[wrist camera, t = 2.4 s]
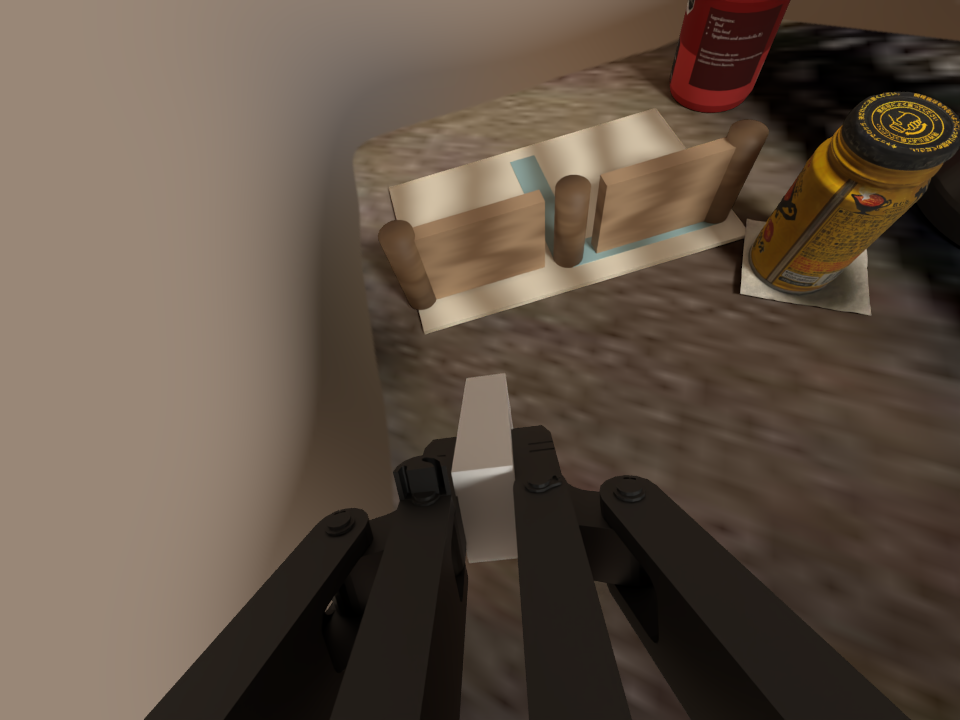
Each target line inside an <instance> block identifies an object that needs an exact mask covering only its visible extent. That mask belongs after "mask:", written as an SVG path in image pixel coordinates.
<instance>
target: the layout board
mask: <svg viewBox="0 0 960 720" xmlns="http://www.w3.org/2000/svg"><path fill="white" fill-rule="evenodd" d="M684 149H686V148H685V146H684V145H683V144H682V142H681V141H680V140H679V138H678V137H677V136H676V134H675V133H674V132H673V130H672V129H671V128H670V126H669V125H668V124H667V122H666V121H665V120H664V118H663V117H662V116H661V114H660V113H659V112H658V110H657V109H656V108H654V109H651V110H647V111H644V112H641V113H637V114H634V115H631V116H627V117H624V118H621V119H617V120H614V121H610V122H607V123H604V124H600V125H597V126H594V127H590V128H587V129H584V130H580V131H577V132H574V133H570V134H567V135H564V136H560V137H557V138H554V139H550V140H547V141H543V142H540V143H537V144H533V145H530V146H527V147H523V148H520V149H517V150H513V151H510V152H507V153H503V154H500V155H497V156H493V157H490V158H486V159H483V160H480V161H476V162H473V163H470V164H466V165H463V166H460V167H456V168H453V169H450V170H446V171H443V172H440V173H436V174H433V175H430V176H426V177H423V178H419V179H416V180H413V181H409V182H406V183H403V184H399V185H396V186H393V187H389V190H390V195H391V199H392V203H393V207H394V211H395V215H396V219H397V220H404V221H407V222H409V223H410V224H411V226H412V227H416V226H419V225H422V224H426V223H429V222H432V221H436V220H439V219H442V218H446V217H449V216H452V215H456V214H459V213H462V212H466V211H469V210H472V209H476V208H479V207H482V206H486V205H489V204H492V203H496V202H499V201H503V200H506V199H509V198H513V197H516V196H519V195H523V194H526V193H529V192H533V191H536V190H540V192H541V194H542V196H543V198H544V200H545V267H544V268H540V269H537V270H534V271H530V272H527V273H524V274H520V275H517V276H514V277H511V278H507V279H504V280H501V281H497V282H494V283H491V284H487V285H484V286H481V287H477V288H474V289H471V290H467V291H464V292H461V293H457V294H454V295H451V296H447V297H444V298H441V299H437V300H436V302H435V303H434V305H433V306H431V307H430V308H428V309H425V310H419V313H420V317H421V321H422V326H423V330H424V333H425V334H427V333H431V332H434V331H437V330H441V329H444V328H447V327H451V326H454V325H457V324H461V323H464V322H467V321H471V320H474V319H477V318H481V317H484V316H487V315H491V314H494V313H497V312H501V311H504V310H507V309H511V308H514V307H517V306H521V305H524V304H527V303H531V302H534V301H537V300H541V299H544V298H547V297H551V296H554V295H557V294H561V293H564V292H567V291H571V290H574V289H577V288H580V287H584V286H587V285H590V284H594V283H597V282H600V281H604V280H607V279H610V278H614V277H617V276H620V275H624V274H627V273H630V272H634V271H637V270H640V269H644V268H647V267H650V266H654V265H657V264H660V263H664V262H667V261H670V260H674V259H677V258H680V257H684V256H687V255H690V254H694V253H697V252H700V251H704V250H707V249H710V248H714V247H717V246H720V245H724V244H727V243H730V242H734V241H737V240H740V239H744V238H745V230H746V227H745V226H744V225H743V223H742V222H741V221H740V219H739V218H738V217H737V216H736V214H735V213H734V212H733V210H732V209H731V211H730V213H729V215H728V217H727V219H726V220H725V221H723V222H722V223H717V224H711V223H707V222H704V221H703V222H700V223H697V224H693V225H690V226H687V227H683V228H680V229H677V230H673V231H670V232H667V233H663V234H660V235H657V236H653V237H650V238H647V239H643V240H640V241H637V242H633V243H630V244H627V245H623V246H620V247H617V248H613V249H610V250H607V251H603V252H600V253H596V252H595V250H594V248H593V246H592V244H591V239H592V232H593V225H594V218H595V210H596V203H597V196H598V188H599V181H600V175H601V174H604V173H608V172H611V171H614V170H618V169H621V168H624V167H628V166H631V165H634V164H638V163H641V162H644V161H648V160H651V159H654V158H658V157H661V156H664V155H668V154H671V153H674V152H678V151H681V150H684ZM568 175H580V176H583V177H585V178H587V179H588V180H589V182H590V183H591V193H590V202H589V210H588V219H587V227H586V236H585V244H584V253H583V259H582V261H581V262H580V263H579V264H578V265H576V266H574V267H572V268H563V267H561V266H559V265H557V264H556V263H555V261H554V258H553V251H554V214H555V186H556V183H557V182H558V181H559V180H560V179H561V178H563V177H565V176H568Z"/></svg>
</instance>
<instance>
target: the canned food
mask: <svg viewBox="0 0 960 720" xmlns="http://www.w3.org/2000/svg"><path fill="white" fill-rule="evenodd" d="M789 3H790V0H688V4H687V9H686V12H685V16H684V21H683V25H682V29H681V33H680V37H679V41H678V45H677V49H676V54H675V58H674V62H673V66H672V70H671V74H670V90H671V94H672V96H673V97H674V98H675V100H676V101H677V102H679V103H680V104H681V105H683V106H685V107H687V108H689V109H692V110H694V111H699V112H707V113H714V112H722V111H726V110H729V109H732V108H734V107H736V106H738V105H740V104H741V103H742V102H743V101H744V100H745V99H746V97H747V96H748V95H749V94H750V92H751V91H752V89H753V87H754V85H755V82H756V80H757V78H758V75H759V73H760V71H761V68H762V66H763V64H764V61H765V59H766V57H767V54H768V52H769V50H770V47H771V45H772V43H773V40H774V38H775V35H776V33H777V31H778V28H779V26H780V24H781V21H782V19H783V16H784V14H785V12H786V10H787V7H788V5H789Z"/></svg>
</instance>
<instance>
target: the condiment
mask: <svg viewBox="0 0 960 720" xmlns="http://www.w3.org/2000/svg"><path fill="white" fill-rule="evenodd" d="M959 146H960V119H959V116H958V115H957V114H955V112H953V111H952V110H951V109H950V108H949V107H947V106H945V105H944V104H942V103H941V102H940V101H937V100H935V99H933V98H931V97H928V96H925V95H922V94H917V93H911V92H886V93H883V94H879V95H873V96H870V97H868V98H866V99H864V100H863V101H862V102H860V103H859V104H858V105H857V106H856V107H855V108H854V109H853V110H852V111H851V112H850V113H849V115H848V116H847V117H846V119H845V121H844V123H843V125H842V126H841V127H840V128H839V129H838V130H837V131H836V132H835V133H834V135H833V137H831V138H829V139H827V140H826V141H825V142H823V143H822V144H821V145H820V146H819V147H818V148H817V149H816V151H815V152H814V154H813V155H812V157H811V158H810V159H809V160H808V161H807V163H806V165H805V167H804V168H803V170H802V171H801V173H800V174H799V176H798V177H797V179H796V180H795V182H794V183H793V185H792V186H791V187H790V189H789V190H788V192H787V193H786V195H785V196H784V197H783V198H782V200H781V202H780V203H779V204H778V206H777V208H776V209H775V210H774V212H773V213H772V215H771V216H770V217H769V218H768V220H767V222H761V221H756V220H751V219H748V218H747V221H746V230H745V241H744V250H743V264H742V279H741V291H740V294H745V295H750V296H756V297H761V298H765V299H774V300H777V301H782V302H791V303H794V304H803V305H810V306H819V307H822V308H828V309H833V310H838V311H845V312H856V313H860V314H866V315H871V307H870V304H869V288H868V270H867V248H868V247H869V246H870V245H871V244H872V243H873V242H874V241H875V240H876V239H877V238H878V237H879V236H880V235H881V234H883V233H884V232H885V231H886V230H887V229H888V228H889V227H890V226H891V225H892V224H893V223H894V222H895V221H896V220H897V219H898V218H899V217H901V216H902V215H903V214H904V213H905V212H906V211H907V210H908V209H909V208H910V207H911V206H912V205H913V204H914V203H916V202H917V201H918V199H920V198H921V197H922V195H923V194H924V193H925V192H926V190H927V188H928V185H929V183H930V180H931V177H933V176H934V175H935V174H936V173H937V172H938V171H939V169H940V168H941V167H942V164H943V163H944V162H945V161H947V160H948V159H950V158H951V157H953V156H954V155H955V153H956V151H957V150H959Z"/></svg>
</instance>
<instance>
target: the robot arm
mask: <svg viewBox="0 0 960 720" xmlns="http://www.w3.org/2000/svg"><path fill="white" fill-rule="evenodd" d="M917 205H918V206H919V208H920V210H921V211H922V212H923V214H924V215H925V216H926V218H927V219H928V220H929V221H930V222H931V223H932V224H933V225H934V226H935V227H936V228H937V229H938V230H939V231H940V232H941V233H943V234H944V235H945V236H946V237H948V238H949V239H950V240H952V241H953V242H955V243H956V244H958V245H959V246H960V146H959V150H957V151H956V153H955V155H954V156H953V157H951V158H950V159H948V160H947V161H945V162H944V163H943V164H942V167H941V168H940V169H939V171H938V172H937V173H936V174H935V175H934V176H933V177H931V180H930V183H929V185H928V188H927V190H926V192H925V193H924V194H923V195H922V197H921V198H920V199H918V201H917ZM393 474H394V478H395V482H396V486H397V490H398V495H399V499H400V502H399V505H398V508H397V510H396V511H394V512H392V513H390V514H387V515H384V516H381V517H378V518H375V519H372V520H369V518H368V514H367V513H366V512H365V511H364V510H362V509H357V508H349V509H342V510H340V511H339V510H338V511H336V512H334V513H332V514H330V515H328V516H326V517H325V518H324V519H322V520H321V521H320V522H319V523H318V524H317V525H316V526H315V527H314V528H313V529H312V530H311V531H310V533H309V534H308V535H307V536H306V537H305V538H304V539H303V541H302V542H301V543H300V544H299V545H298V546H297V547H296V548H295V549H294V551H293V552H292V553H291V554H290V555H289V556H288V558H287V559H286V560H285V561H284V562H283V563H282V564H281V565H280V566H279V568H278V569H277V570H276V571H275V572H274V573H273V574H272V575H271V577H270V578H269V579H268V580H267V581H266V582H265V583H264V584H263V586H262V587H261V588H260V589H259V590H258V591H257V592H256V594H255V595H254V596H253V597H252V598H251V599H250V600H249V601H248V602H247V604H246V605H245V606H244V607H243V608H242V609H241V610H240V612H239V613H238V614H237V615H236V616H235V617H234V618H233V619H232V621H231V622H230V623H229V624H228V625H227V626H226V627H225V628H224V630H223V631H222V632H221V633H220V634H219V635H218V636H217V638H216V639H215V640H214V641H213V642H212V643H211V644H210V645H209V647H208V648H207V649H206V650H205V651H204V652H203V653H202V654H201V656H200V657H199V658H198V659H197V660H196V661H195V662H194V663H193V665H192V666H191V667H190V668H189V669H188V670H187V671H186V672H185V674H184V675H183V676H182V677H181V678H180V679H179V680H178V682H177V683H176V684H175V685H174V686H173V687H172V688H171V689H170V691H169V692H168V693H167V694H166V695H165V696H164V697H163V698H162V700H161V701H160V702H159V703H158V704H157V705H156V706H155V707H154V709H153V710H152V711H151V712H150V713H149V714H148V715H147V716H146V718H145V719H144V720H459V718H460V702H461V686H462V670H463V654H464V638H465V623H466V607H467V591H468V575H467V570H466V565H465V557H466V551H467V556H468V561H469V563H474V562H484V561H494V560H504V559H513V558H518V568H519V582H520V596H521V610H522V625H523V639H524V653H525V667H526V682H527V696H528V710H529V720H632V719H631V715H630V711H629V708H628V704H627V700H626V697H625V693H624V689H623V686H622V682H621V678H620V675H619V671H618V667H617V664H616V660H615V656H614V653H613V649H612V646H611V642H610V638H609V635H608V631H607V627H606V624H605V620H604V616H603V613H602V609H601V605H600V602H599V598H598V594H597V591H596V587H595V583H594V581H599V582H605V583H607V586H608V588H609V591H610V593H611V594H612V596H613V598H614V599H615V601H616V602H617V604H618V605H619V607H620V609H621V610H622V612H623V613H624V615H625V616H626V618H627V620H628V621H629V623H630V624H631V626H632V628H633V629H634V631H635V632H636V634H637V635H638V637H639V639H640V640H641V642H642V643H643V645H644V646H645V648H646V650H647V651H648V653H649V654H650V656H651V657H652V659H653V661H654V662H655V664H656V665H657V667H658V669H659V670H660V672H661V673H662V675H663V676H664V678H665V680H666V681H667V683H668V684H669V686H670V687H671V689H672V691H673V692H674V694H675V695H676V697H677V698H678V700H679V702H680V703H681V705H682V706H683V708H684V710H685V711H686V713H687V714H688V716H689V717H690V719H691V720H911V719H909V718H908V717H907V716H906V715H905V714H904V713H903V712H902V711H901V710H900V709H899V708H898V707H896V706H895V705H894V704H893V703H892V702H891V701H890V700H889V699H888V698H887V697H886V696H884V695H883V694H882V693H881V692H880V691H879V690H878V689H877V688H876V687H875V686H874V685H873V684H871V683H870V682H869V681H868V680H867V679H866V678H865V677H864V676H863V675H862V674H861V673H860V672H858V671H857V670H856V669H855V668H854V667H853V666H852V665H851V664H850V663H849V662H848V661H846V660H845V659H844V658H843V657H842V656H841V655H840V654H839V653H838V652H837V651H836V650H835V649H833V648H832V647H831V646H830V645H829V644H828V643H827V642H826V641H825V640H824V639H823V638H822V637H820V636H819V635H818V634H817V633H816V632H815V631H814V630H813V629H812V628H811V627H810V626H808V625H807V624H806V623H805V622H804V621H803V620H802V619H801V618H800V617H799V616H798V615H797V614H795V613H794V612H793V611H792V610H791V609H790V608H789V607H788V606H787V605H786V604H785V603H784V602H782V601H781V600H780V599H779V598H778V597H777V596H776V595H775V594H774V593H773V592H772V591H771V590H769V589H768V588H767V587H766V586H765V585H764V584H763V583H762V582H761V581H760V580H759V579H757V578H756V577H755V576H754V575H753V574H752V573H751V572H750V571H749V570H748V569H747V568H746V567H744V566H743V565H742V564H741V563H740V562H739V561H738V560H737V559H736V558H735V557H734V556H733V555H731V554H730V553H729V552H728V551H727V550H726V549H725V548H724V547H723V546H722V545H721V544H719V543H718V542H717V541H716V540H715V539H714V538H713V537H712V536H711V535H710V534H709V533H708V532H706V531H705V530H704V529H703V528H702V527H701V526H700V525H699V524H698V523H697V522H696V521H695V520H693V519H692V518H691V517H690V516H689V515H688V514H687V513H686V512H685V511H684V510H683V509H681V508H680V507H679V506H678V505H677V504H676V503H675V502H674V501H673V500H672V499H671V498H670V497H668V496H667V495H666V494H665V493H664V492H663V491H662V490H661V489H660V488H659V487H658V486H657V485H655V484H654V483H652V482H651V481H649V480H648V479H644V478H641V477H638V476H629V475H624V476H617V477H613V478H611V479H608V480H606V481H605V482H604V483H603V484H602V485H601V487H600V491H599V492H595V491H587V490H581V489H578V488H575V487H573V486H571V485H570V484H568V483H567V481H566V480H565V478H564V477H563V475H562V474H561V470H560V466H559V462H558V459H557V455H556V451H555V447H554V444H553V440H552V436H551V433H550V431H549V430H547V429H546V428H545V427H543V426H542V425H540V426H531V427H523V428H515V429H513V425H512V418H511V411H510V404H509V397H508V390H507V383H506V375H505V373H503V374H495V375H488V376H480V377H473V378H466V383H465V390H464V396H463V402H462V408H461V415H460V421H459V427H458V433H457V437H452V438H444V439H436V440H433V441H432V442H431V443H430V444H429V445H428V446H427V447H426V448H425V450H424V453H423V455H422V456H417V457H413V458H411V459H408V460H406V461H404V462H402V463H401V464H400V465H398V466H397V467H396V469H395V470H394V471H393ZM331 600H332V601H333V603H332V604H331V606H330V607H329V609H328V610H327V611H326V612H325V610H326V608H327V606H328V604H329V603H330V601H331Z"/></svg>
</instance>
